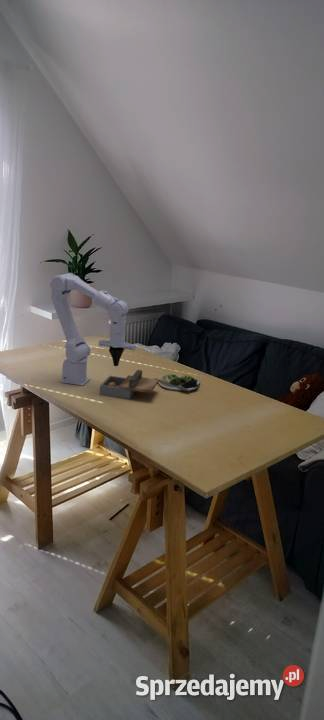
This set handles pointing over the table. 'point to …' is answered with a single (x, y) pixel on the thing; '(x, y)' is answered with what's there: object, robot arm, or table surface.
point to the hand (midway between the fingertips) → (116, 365)
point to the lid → (138, 383)
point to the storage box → (115, 388)
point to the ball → (112, 384)
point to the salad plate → (179, 383)
